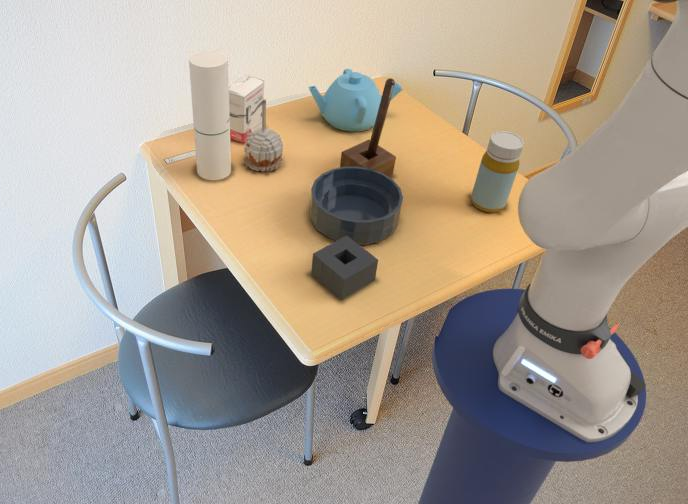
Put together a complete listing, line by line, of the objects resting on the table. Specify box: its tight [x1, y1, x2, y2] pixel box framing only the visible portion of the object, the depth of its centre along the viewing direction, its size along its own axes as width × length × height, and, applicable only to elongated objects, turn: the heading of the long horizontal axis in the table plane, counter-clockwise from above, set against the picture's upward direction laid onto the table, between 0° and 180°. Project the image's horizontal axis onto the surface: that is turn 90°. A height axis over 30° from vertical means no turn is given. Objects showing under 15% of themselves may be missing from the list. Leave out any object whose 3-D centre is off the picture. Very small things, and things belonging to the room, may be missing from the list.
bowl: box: [309, 166, 404, 245], centre depth 126 cm, size 17×17×6 cm
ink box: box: [229, 74, 265, 144], centre depth 145 cm, size 9×5×12 cm, turn 150°
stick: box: [366, 77, 396, 160], centre depth 131 cm, size 2×2×22 cm
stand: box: [310, 236, 379, 301], centre depth 114 cm, size 8×8×5 cm
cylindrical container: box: [188, 48, 232, 181], centre depth 129 cm, size 7×7×25 cm
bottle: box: [470, 130, 525, 214], centre depth 128 cm, size 7×7×15 cm
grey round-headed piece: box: [244, 98, 284, 173], centre depth 135 cm, size 8×8×15 cm
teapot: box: [308, 68, 404, 133], centre depth 151 cm, size 15×17×11 cm
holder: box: [339, 139, 397, 178], centre depth 137 cm, size 8×8×5 cm
